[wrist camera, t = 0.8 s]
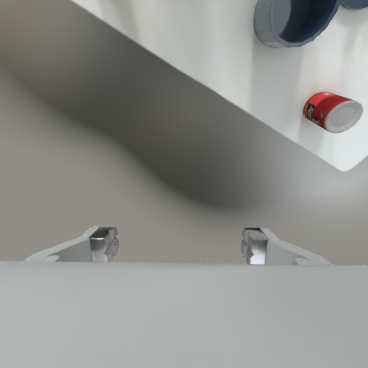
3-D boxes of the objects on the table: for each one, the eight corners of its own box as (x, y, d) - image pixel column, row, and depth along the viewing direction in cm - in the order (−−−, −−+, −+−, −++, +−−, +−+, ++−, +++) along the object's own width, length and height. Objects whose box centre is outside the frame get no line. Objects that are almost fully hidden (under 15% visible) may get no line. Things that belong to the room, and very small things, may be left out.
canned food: (299, 104, 52) (322, 115, 43) (329, 84, 49) (360, 93, 40) (306, 124, 56) (329, 139, 47) (335, 107, 53) (365, 120, 44)
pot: (248, -9, 38) (264, -22, 31) (312, -47, 35) (347, -72, 28) (259, 56, 45) (274, 59, 38) (313, 30, 42) (341, 26, 35)
